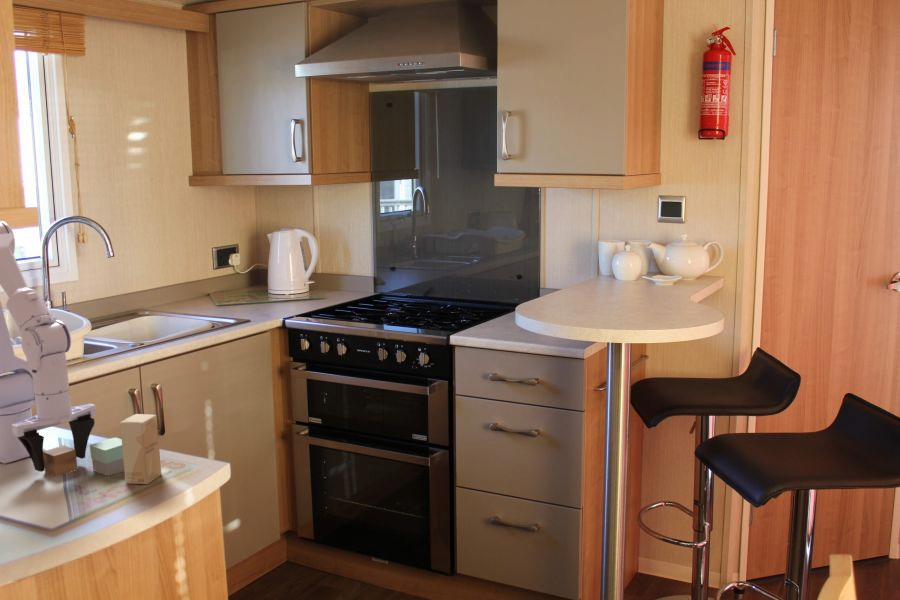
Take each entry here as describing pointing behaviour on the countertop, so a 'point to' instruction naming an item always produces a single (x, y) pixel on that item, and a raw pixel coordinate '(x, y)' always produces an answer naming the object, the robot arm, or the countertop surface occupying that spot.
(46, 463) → the walnut cube
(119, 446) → the slab upper
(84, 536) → the countertop surface
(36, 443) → the robot arm
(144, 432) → the box
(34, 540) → the countertop surface
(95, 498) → the countertop surface
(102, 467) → the slab lower
